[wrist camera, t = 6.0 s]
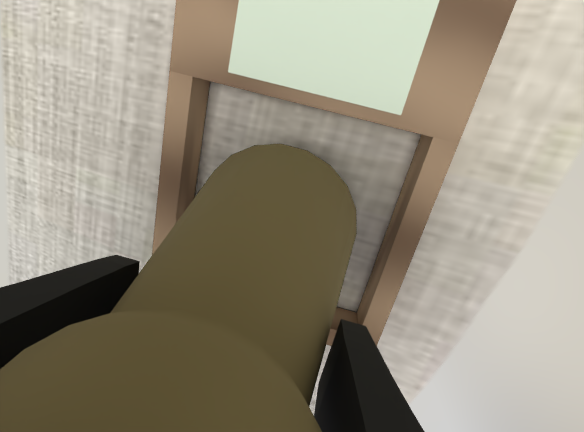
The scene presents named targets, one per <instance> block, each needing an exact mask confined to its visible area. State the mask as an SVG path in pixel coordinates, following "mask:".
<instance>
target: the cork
mask: <svg viewBox="0 0 584 432" xmlns="http://www.w3.org/2000/svg"><path fill="white" fill-rule="evenodd" d="M356 234H357V227H356V208H355V205H354V202H353V200H352V197H351V194H350V192H349V189H348V186H347V185H346V184H345V183H344V181H343V180H342V179H341V178H340V176H339V175H338V174H337V173H336V172H335V170H334V169H333V168H332V167H331V166H330V165H329V164H327V163H326V162H324V161H323V160H321V159H320V158H318V157H316V156H315V155H313V154H312V153H310V152H309V151H306V150H302V149H299V148H295V147H291V146H287V145H284V144H270V145H254V146H252V147H250V148H247V149H245V150H242V151H240V152H238V153H235V154H233V155H231V156H230V157H229V158H228V159H227V160H226V161H224V162H223V163H222V164H221V165H220V166H219V167H218V168H217V169H216V170H215V171H214V172H213V173H212V175H211V176H210V177H209V179H208V180H207V181H206V183H205V184H204V186H203V187H202V188H201V190H200V191H199V192H198V194H197V195H196V196H195V198H194V199H193V201H192V202H191V203H190V205H189V206H188V207H187V209H186V210H185V212H184V213H183V214H182V216H181V217H180V218H179V220H178V221H177V222H176V224H175V225H174V227H173V228H172V229H171V231H170V232H169V233H168V235H167V236H166V237H165V239H164V240H163V242H162V243H161V244H160V246H159V247H158V248H157V250H156V251H155V252H154V254H153V255H152V257H151V258H150V259H149V261H148V262H147V263H146V265H145V266H144V267H143V269H142V270H141V272H140V273H139V274H138V276H137V277H136V278H135V280H134V281H133V282H132V284H131V285H130V287H129V288H128V289H127V291H126V292H125V293H124V295H123V296H122V297H121V299H120V300H119V302H118V303H117V304H116V306H115V307H114V308H113V310H112V311H111V313H109V314H106V315H102V316H99V317H95V318H92V319H89V320H85V321H82V322H78V323H75V324H71V325H68V326H66V327H65V328H63V329H61V330H59V331H57V332H55V333H53V334H52V335H50V336H48V337H46V338H44V339H42V340H41V341H39V342H37V343H35V344H33V345H31V346H30V347H28V348H26V349H24V350H23V351H22V352H20V353H19V354H18V355H17V356H16V357H14V358H13V359H12V360H11V361H10V362H8V363H7V364H6V365H5V366H4V367H2V368H1V369H0V432H322V431H321V429H320V427H319V425H318V423H317V421H316V419H315V417H314V416H313V414H312V412H311V410H310V408H309V405H310V402H311V398H312V394H313V391H314V387H315V383H316V380H317V376H318V372H319V369H320V365H321V361H322V358H323V354H324V351H325V347H326V343H327V340H328V336H329V332H330V329H331V325H332V321H333V318H334V314H335V310H336V307H337V303H338V299H339V296H340V292H341V288H342V285H343V281H344V277H345V274H346V270H347V266H348V263H349V259H350V255H351V252H352V248H353V245H354V241H355V237H356Z"/></svg>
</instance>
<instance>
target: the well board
mask: <svg viewBox="0 0 584 432" xmlns="http://www.w3.org/2000/svg"><path fill="white" fill-rule="evenodd" d="M515 3H516V0H176V8H175V19H174V29H173V40H172V50H171V61H170V71H169V82H168V92H167V103H166V113H165V124H164V134H163V145H162V155H161V166H160V177H159V187H158V198H157V208H156V219H155V229H154V240H153V250H152V255H153V254H154V252H155V251H156V250H157V248H158V247H159V246H160V244H161V243H162V242H163V240H164V239H165V237H166V236H167V235H168V233H169V232H170V231H171V229H172V228H173V227H174V225H175V224H176V222H177V221H178V220H179V218H180V217H181V216H182V214H183V213H184V212H185V210H186V209H187V207H188V206H189V205H190V203H191V202H192V201H193V199H194V196H195V189H196V181H197V174H198V167H199V159H200V152H201V145H202V137H203V130H204V123H205V115H206V108H207V100H208V93H209V86H210V81H212V82H216V83H220V84H224V85H228V86H232V87H236V88H240V89H244V90H247V91H251V92H255V93H259V94H263V95H267V96H271V97H275V98H279V99H283V100H287V101H291V102H295V103H299V104H303V105H307V106H311V107H315V108H319V109H323V110H327V111H331V112H335V113H339V114H343V115H347V116H351V117H355V118H359V119H362V120H366V121H370V122H374V123H378V124H382V125H386V126H390V127H394V128H398V129H402V130H406V131H410V132H414V133H418V134H422V135H421V137H420V140H419V143H418V146H417V148H416V151H415V154H414V157H413V159H412V162H411V165H410V168H409V171H408V173H407V176H406V179H405V182H404V184H403V187H402V190H401V193H400V195H399V198H398V201H397V204H396V206H395V209H394V212H393V215H392V217H391V220H390V223H389V226H388V228H387V231H386V234H385V237H384V239H383V242H382V245H381V248H380V250H379V253H378V256H377V259H376V262H375V264H374V267H373V270H372V273H371V275H370V278H369V281H368V284H367V286H366V289H365V292H364V295H363V297H362V300H361V303H360V306H359V308H358V311H357V313H356V312H352V311H349V310H345V309H342V308H338V307H336V310H335V314H334V318H333V321H332V325H331V329H330V332H329V336H328V340H327V343H326V344H327V345H330V346H332V343H333V340H334V337H335V334H336V332H337V329H338V326H339V323H340V320H341V319H343V320H346V321H350V322H353V323H357V324H360V325H364V326H366V327H367V329H368V331H369V333H370V335H371V336H372V338H373V340H374V342H375V344H376V346H377V344H378V341H379V339H380V336H381V334H382V331H383V329H384V326H385V324H386V321H387V319H388V317H389V314H390V312H391V309H392V307H393V304H394V302H395V299H396V297H397V294H398V292H399V289H400V287H401V284H402V282H403V279H404V277H405V275H406V272H407V270H408V267H409V265H410V262H411V260H412V257H413V255H414V252H415V250H416V247H417V245H418V242H419V240H420V237H421V235H422V233H423V230H424V228H425V225H426V223H427V220H428V218H429V215H430V213H431V210H432V208H433V205H434V203H435V200H436V198H437V195H438V193H439V191H440V188H441V186H442V183H443V181H444V178H445V176H446V173H447V171H448V168H449V166H450V163H451V161H452V158H453V156H454V153H455V151H456V149H457V146H458V144H459V141H460V139H461V136H462V134H463V131H464V129H465V126H466V124H467V121H468V119H469V116H470V114H471V111H472V109H473V107H474V104H475V102H476V99H477V97H478V94H479V92H480V89H481V87H482V84H483V82H484V79H485V77H486V74H487V72H488V69H489V67H490V65H491V62H492V60H493V57H494V55H495V52H496V50H497V47H498V45H499V42H500V40H501V37H502V35H503V32H504V30H505V27H506V25H507V23H508V20H509V18H510V15H511V13H512V10H513V8H514V5H515Z"/></svg>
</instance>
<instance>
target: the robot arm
mask: <svg viewBox="0 0 584 432" xmlns="http://www.w3.org/2000/svg"><path fill="white" fill-rule="evenodd" d="M138 274H139V261H136V260H133V259H129V258H126V257H122V256H119V255H114V256H109V257H105V258H101V259H97V260H93V261H90V262H86V263H83V264H80V265H76V266H73V267H70V268H66V269H63V270H60V271H56V272H53V273H49V274H46V275H43V276H39V277H36V278H33V279H29V280H26V281H22V282H19V283H16V284H12V285H8V286H5V287H1V288H0V369H1V368H2V367H4V366H5V365H6V364H7V363H8V362H10V361H11V360H12V359H13V358H14V357H16V356H17V355H18V354H19V353H20V352H22V351H23V350H24V349H26V348H28V347H30V346H31V345H33V344H35V343H37V342H39V341H41V340H42V339H44V338H46V337H48V336H50V335H52V334H53V333H55V332H57V331H59V330H61V329H63V328H65V327H66V326H68V325H71V324H75V323H78V322H82V321H85V320H89V319H92V318H95V317H99V316H102V315H106V314H109V313H111V311H112V310H113V308H114V307H115V306H116V304H117V303H118V302H119V300H120V299H121V297H122V296H123V295H124V293H125V292H126V291H127V289H128V288H129V287H130V285H131V284H132V282H133V281H134V280H135V278H136V277H137V276H138ZM314 417H315V419H316V421H317V423H318V425H319V427H320V429H321V431H322V432H424V430H423V429H422V427H421V425H420V424H419V422H418V420H417V419H416V417H415V415H414V414H413V412H412V410H411V409H410V407H409V405H408V403H407V402H406V400H405V398H404V396H403V395H402V393H401V391H400V389H399V388H398V386H397V384H396V382H395V380H394V379H393V377H392V375H391V373H390V371H389V369H388V367H387V365H386V364H385V362H384V360H383V358H382V356H381V354H380V352H379V350H378V348H377V346H376V344H375V342H374V340H373V338H372V336H371V335H370V333H369V331H368V329H367V327H366V326H364V325H360V324H357V323H353V322H350V321H346V320H343V319H341V320H340V323H339V326H338V329H337V332H336V334H335V337H334V340H333V343H332V346H331V349H330V352H329V355H328V358H327V361H326V363H325V366H324V369H323V372H322V375H321V378H320V381H319V385H318V392H317V399H316V406H315V414H314Z"/></svg>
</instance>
